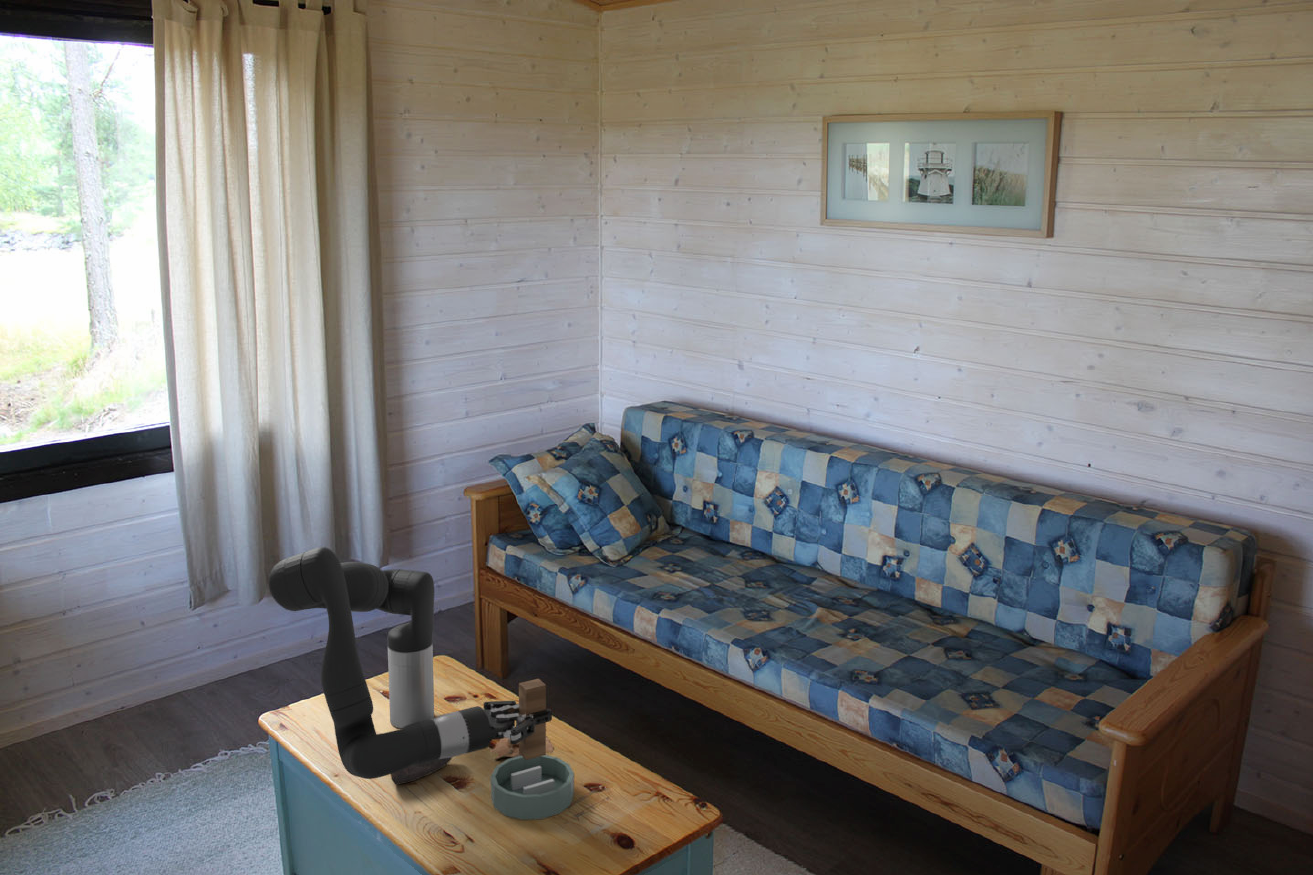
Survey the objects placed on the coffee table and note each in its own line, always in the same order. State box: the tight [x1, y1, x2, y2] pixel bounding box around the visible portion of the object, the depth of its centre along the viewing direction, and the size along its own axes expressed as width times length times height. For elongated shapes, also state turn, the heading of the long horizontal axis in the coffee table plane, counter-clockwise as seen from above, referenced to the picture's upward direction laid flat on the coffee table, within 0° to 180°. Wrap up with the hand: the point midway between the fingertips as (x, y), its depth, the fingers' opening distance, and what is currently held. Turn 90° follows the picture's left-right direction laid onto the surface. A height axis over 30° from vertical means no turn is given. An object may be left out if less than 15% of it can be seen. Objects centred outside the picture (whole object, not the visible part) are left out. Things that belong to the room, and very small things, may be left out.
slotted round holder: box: [490, 754, 575, 821], centre depth 202 cm, size 15×15×4 cm
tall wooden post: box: [518, 678, 547, 760], centre depth 199 cm, size 3×4×14 cm
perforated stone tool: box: [390, 757, 453, 785], centre depth 208 cm, size 15×5×7 cm, turn 130°
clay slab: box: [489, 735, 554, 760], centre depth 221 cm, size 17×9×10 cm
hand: (546, 710), depth 200 cm, fingers closed on tall wooden post, 3 cm apart
